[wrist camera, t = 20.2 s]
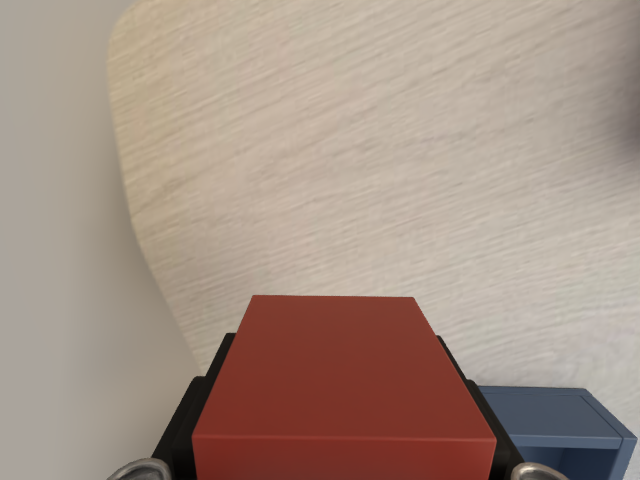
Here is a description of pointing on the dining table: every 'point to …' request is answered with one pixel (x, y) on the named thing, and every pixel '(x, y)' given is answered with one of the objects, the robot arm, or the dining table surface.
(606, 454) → the blue tray
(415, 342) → the red block
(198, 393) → the robot arm
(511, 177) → the dining table surface
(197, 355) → the dining table surface
